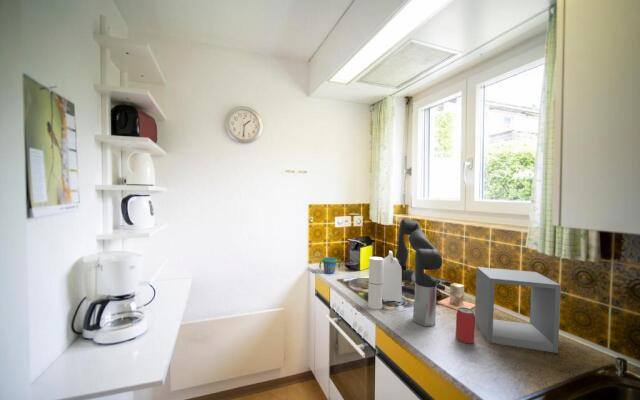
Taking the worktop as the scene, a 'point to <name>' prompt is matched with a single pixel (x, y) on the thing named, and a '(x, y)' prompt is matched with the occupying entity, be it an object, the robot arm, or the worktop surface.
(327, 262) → the snack cup
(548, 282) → the box
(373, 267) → the cylindrical container
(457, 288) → the maple block
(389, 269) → the milk
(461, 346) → the worktop surface
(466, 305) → the terracotta mat
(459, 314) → the beer can
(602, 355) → the worktop surface
